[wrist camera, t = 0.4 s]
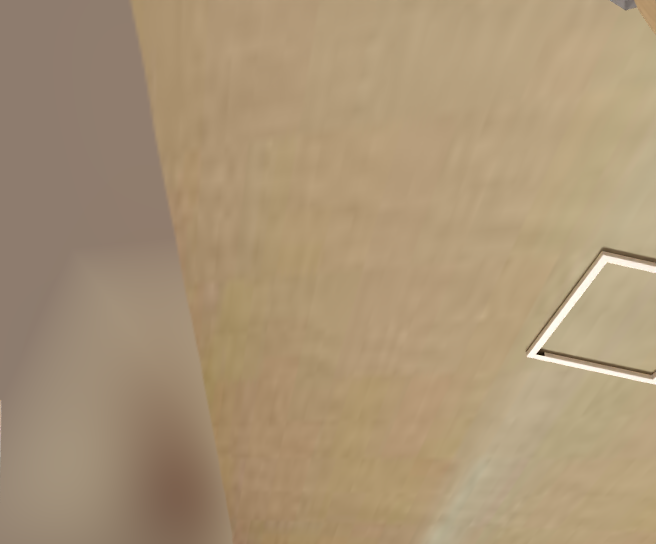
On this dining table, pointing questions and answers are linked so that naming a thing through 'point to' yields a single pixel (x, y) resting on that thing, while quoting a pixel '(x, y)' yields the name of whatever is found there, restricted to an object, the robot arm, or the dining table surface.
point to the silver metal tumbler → (648, 12)
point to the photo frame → (570, 302)
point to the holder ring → (625, 4)
